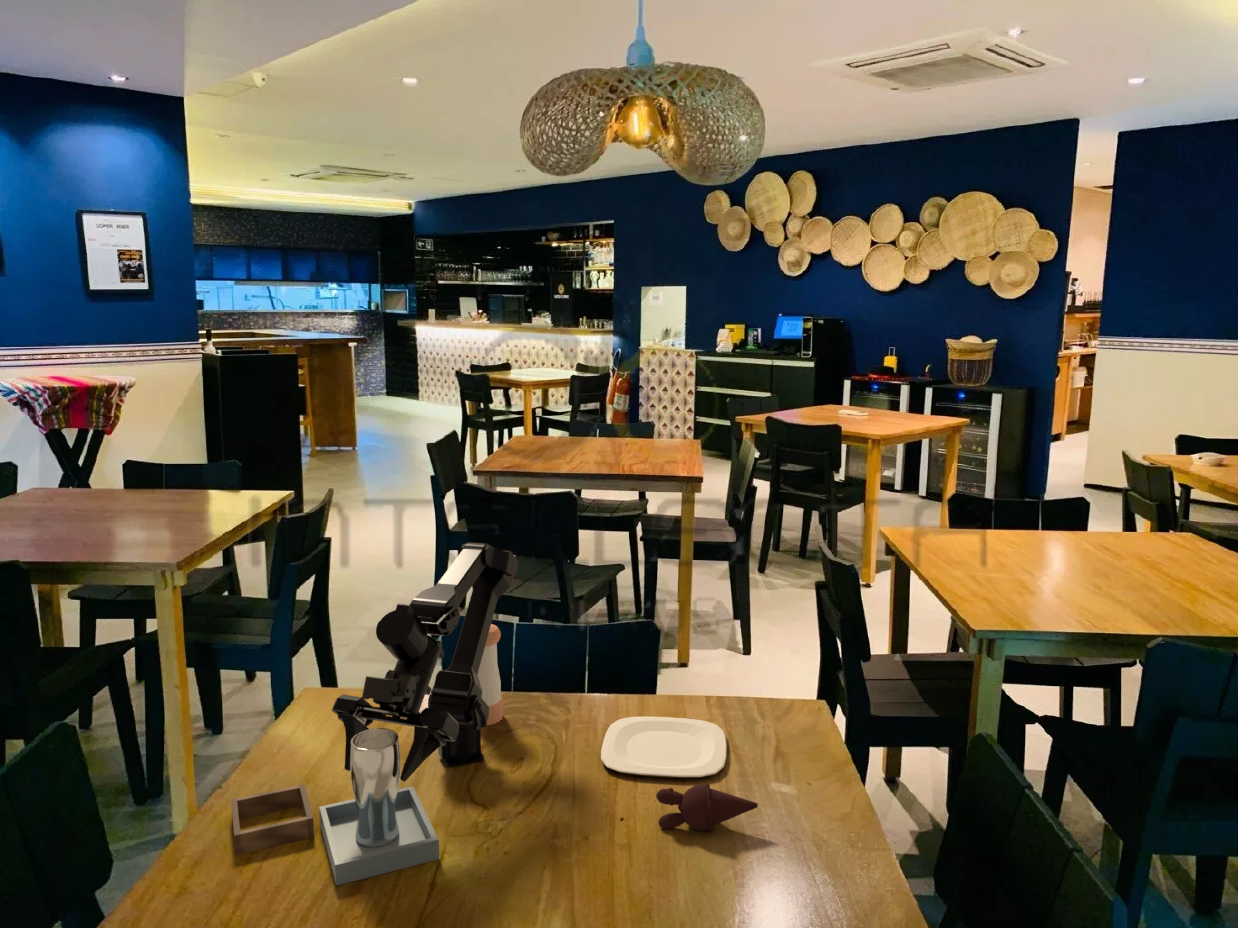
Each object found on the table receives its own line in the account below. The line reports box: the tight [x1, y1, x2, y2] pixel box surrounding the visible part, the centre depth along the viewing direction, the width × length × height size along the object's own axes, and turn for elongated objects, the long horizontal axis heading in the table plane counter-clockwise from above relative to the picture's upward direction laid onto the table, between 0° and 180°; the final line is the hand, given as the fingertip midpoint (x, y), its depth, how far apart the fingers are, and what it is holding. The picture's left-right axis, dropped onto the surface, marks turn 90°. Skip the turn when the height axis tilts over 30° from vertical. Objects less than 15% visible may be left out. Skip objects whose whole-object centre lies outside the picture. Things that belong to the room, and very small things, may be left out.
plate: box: [600, 716, 727, 779], centre depth 158 cm, size 22×22×2 cm
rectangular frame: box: [230, 784, 315, 856], centre depth 133 cm, size 11×11×3 cm
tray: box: [318, 785, 440, 887], centre depth 130 cm, size 14×16×3 cm
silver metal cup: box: [349, 727, 401, 847], centre depth 129 cm, size 7×7×15 cm
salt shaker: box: [478, 623, 504, 727], centre depth 169 cm, size 7×7×19 cm
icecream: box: [655, 782, 759, 832], centre depth 134 cm, size 7×7×15 cm
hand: (374, 775), depth 128 cm, fingers open, 9 cm apart
